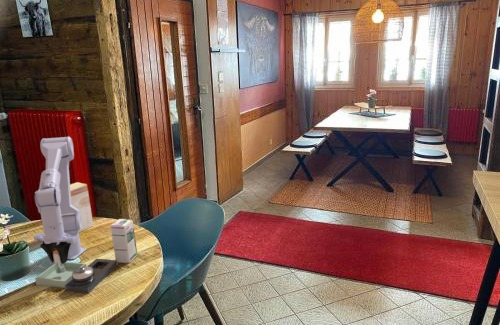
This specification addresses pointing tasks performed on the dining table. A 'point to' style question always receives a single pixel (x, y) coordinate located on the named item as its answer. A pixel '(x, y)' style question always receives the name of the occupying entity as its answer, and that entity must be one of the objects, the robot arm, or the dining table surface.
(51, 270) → the tray
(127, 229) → the syrup box
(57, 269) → the glass vial
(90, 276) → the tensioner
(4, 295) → the dining table surface
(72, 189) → the coffeecake box
